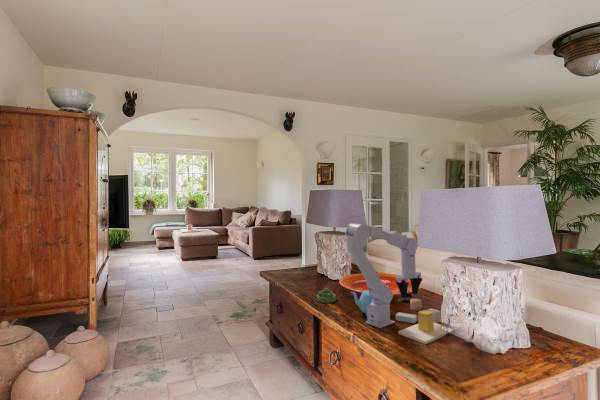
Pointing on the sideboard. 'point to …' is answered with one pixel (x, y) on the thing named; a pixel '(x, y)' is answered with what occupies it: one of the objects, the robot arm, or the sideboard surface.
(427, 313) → the mustard block
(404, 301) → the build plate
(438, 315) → the grey cube
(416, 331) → the cream board
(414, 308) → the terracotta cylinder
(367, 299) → the teapot
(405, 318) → the blue-grey slab
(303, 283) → the sideboard surface
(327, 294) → the decorative artifact
